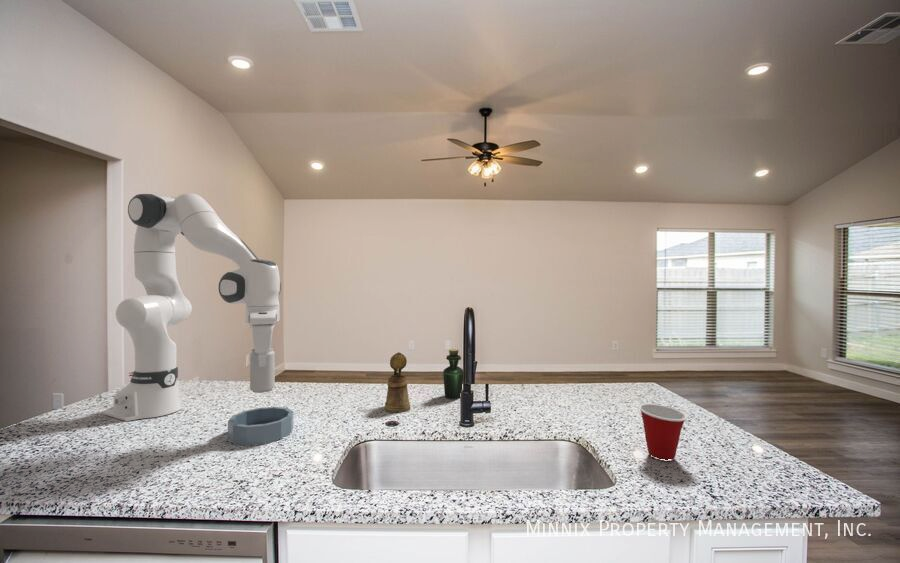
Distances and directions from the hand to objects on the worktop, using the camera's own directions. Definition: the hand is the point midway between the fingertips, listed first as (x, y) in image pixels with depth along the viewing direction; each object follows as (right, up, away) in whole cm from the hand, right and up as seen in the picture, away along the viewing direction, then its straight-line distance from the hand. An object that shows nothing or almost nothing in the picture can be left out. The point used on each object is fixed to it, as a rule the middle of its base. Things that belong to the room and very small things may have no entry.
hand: (262, 363), depth 112 cm
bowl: (0, -20, 0) cm, 20 cm away
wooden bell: (+36, -21, +26) cm, 49 cm away
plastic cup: (+108, -21, -13) cm, 111 cm away
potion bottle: (+55, -21, +38) cm, 70 cm away
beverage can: (0, -8, 0) cm, 8 cm away
